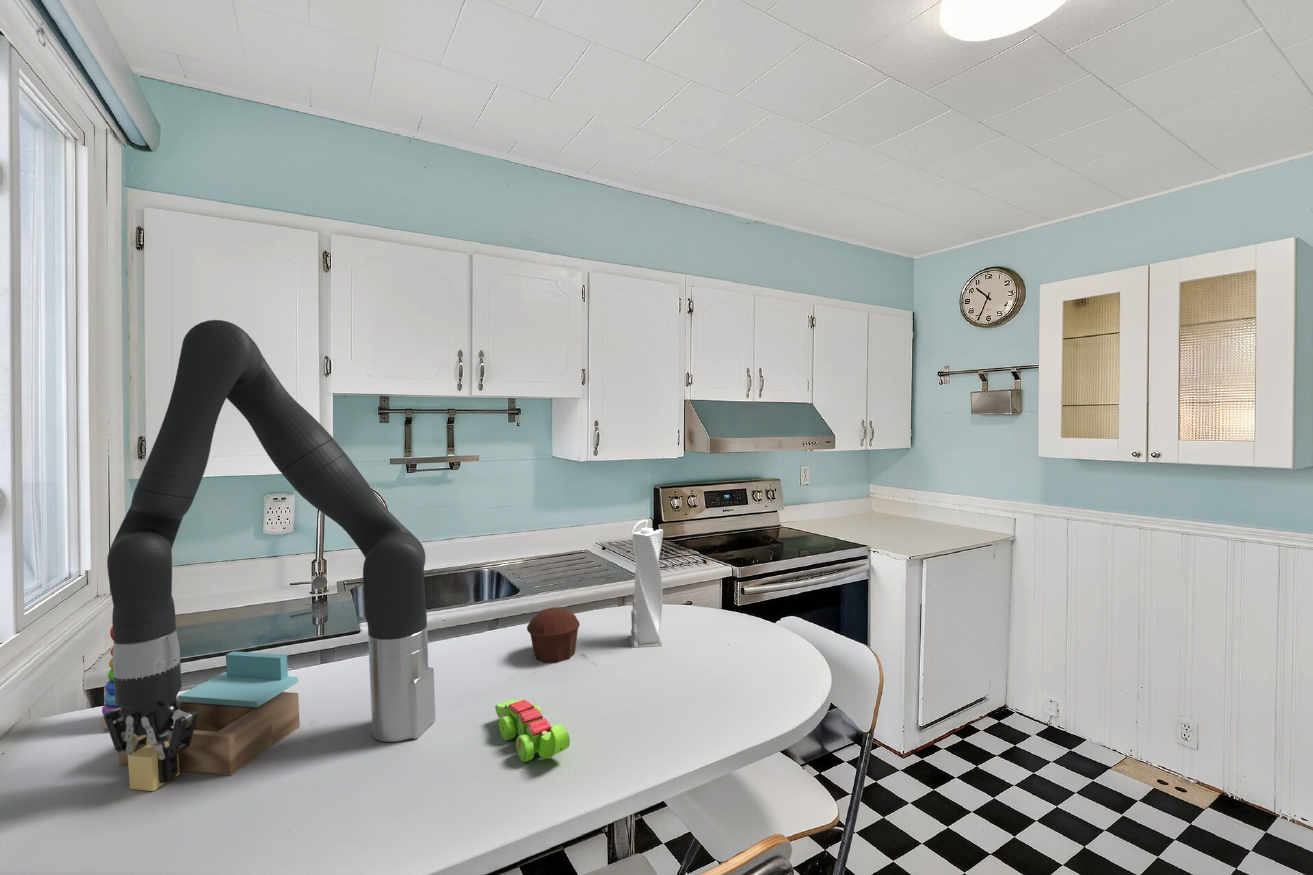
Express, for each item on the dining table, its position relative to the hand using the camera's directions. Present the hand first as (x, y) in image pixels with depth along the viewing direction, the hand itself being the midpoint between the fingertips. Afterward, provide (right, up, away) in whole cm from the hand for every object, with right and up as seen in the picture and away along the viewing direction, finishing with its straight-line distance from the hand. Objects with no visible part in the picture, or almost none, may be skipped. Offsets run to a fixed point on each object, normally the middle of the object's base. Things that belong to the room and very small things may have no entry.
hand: (154, 777), depth 90 cm
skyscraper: (+72, +3, +52) cm, 89 cm away
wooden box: (+2, 0, +10) cm, 10 cm away
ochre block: (0, -1, 0) cm, 1 cm away
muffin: (+52, +2, +44) cm, 68 cm away
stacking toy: (-19, 0, +18) cm, 27 cm away
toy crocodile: (+54, 0, +9) cm, 54 cm away
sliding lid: (+2, +6, +15) cm, 17 cm away
